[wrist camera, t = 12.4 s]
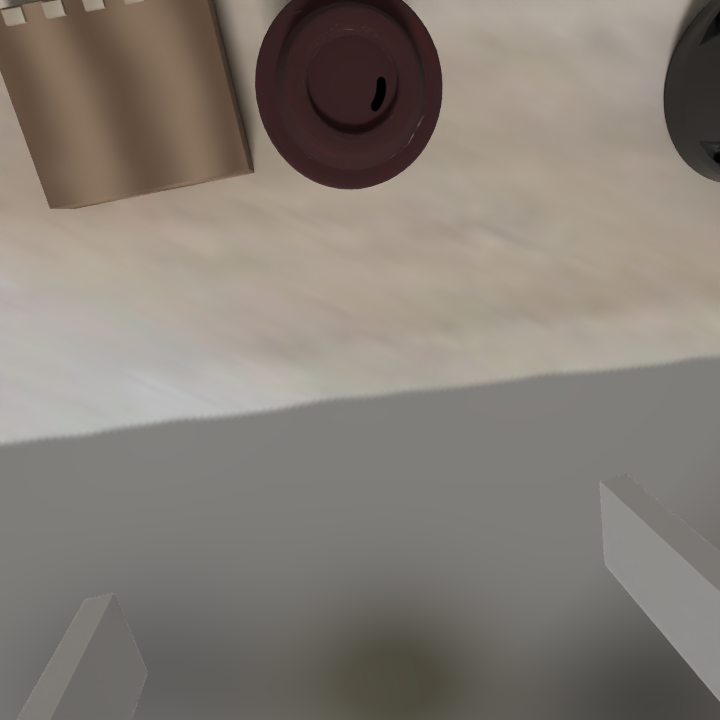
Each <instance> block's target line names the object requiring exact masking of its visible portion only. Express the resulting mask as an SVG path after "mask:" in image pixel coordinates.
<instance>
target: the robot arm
mask: <svg viewBox="0 0 720 720" xmlns="http://www.w3.org/2000/svg"><path fill="white" fill-rule="evenodd" d="M665 115H666V121H667V126H668V130H669V133H670V136H671V139H672V141H673V144H674V146H675V148H676V149H677V151H678V153H679V154H680V156H681V157H682V158H683V160H684V161H685V162H686V163H687V164H688V165H689V166H690V167H691V168H692V169H693V170H695V171H696V172H697V173H699V174H701V175H702V176H704V177H706V178H708V179H711V180H714V181H717V182H720V0H712V1H711V2H710V3H709V4H708V5H707V6H706V7H705V8H704V9H703V10H702V11H701V12H700V13H699V14H698V15H697V16H696V18H695V19H694V20H693V21H692V23H691V24H690V26H689V27H688V28H687V30H686V32H685V33H684V35H683V37H682V38H681V40H680V42H679V44H678V46H677V48H676V51H675V53H674V56H673V58H672V61H671V64H670V68H669V72H668V76H667V81H666V88H665ZM599 483H600V499H601V514H602V529H603V530H602V531H603V546H604V563H605V565H606V567H607V568H608V569H609V570H610V571H611V572H612V574H613V575H614V576H615V577H616V578H617V580H618V581H619V582H620V583H621V584H622V586H623V587H624V588H625V589H626V590H627V592H628V593H629V594H630V595H631V596H632V597H633V598H634V600H635V601H636V602H637V603H638V605H639V606H640V607H641V608H642V609H643V610H644V612H645V613H646V614H647V615H648V616H649V618H650V619H651V620H652V621H653V622H654V624H655V625H656V626H657V627H658V628H659V630H660V631H661V632H662V633H663V634H664V636H665V637H666V638H667V639H668V640H669V641H670V643H671V644H672V645H673V646H674V647H675V649H676V650H677V651H678V652H679V653H680V655H681V656H682V657H683V658H684V659H685V661H686V662H687V663H688V664H689V665H690V667H691V668H692V669H693V670H694V671H695V673H696V674H697V675H698V676H699V677H700V678H701V680H702V681H703V682H704V683H705V684H706V686H707V687H708V688H709V689H710V690H711V691H712V693H713V694H714V695H715V696H716V697H717V699H718V700H719V701H720V551H719V550H718V549H716V548H715V547H714V546H713V545H712V544H710V543H709V542H708V541H707V540H705V539H704V538H703V537H702V536H701V535H700V534H698V533H697V532H696V531H695V530H693V529H692V528H691V527H690V526H689V525H687V524H686V523H685V522H684V521H683V520H681V519H680V518H679V517H678V516H677V515H675V514H674V513H673V512H672V511H670V510H669V509H668V508H667V507H666V506H664V505H663V504H662V503H661V502H660V501H658V500H657V499H656V498H655V497H654V496H652V495H651V494H650V493H649V492H648V491H646V490H645V489H644V488H643V487H641V486H640V485H639V484H638V483H637V482H635V481H634V480H633V479H632V478H631V477H629V476H628V475H627V474H625V475H621V476H616V477H612V478H608V479H603V480H600V481H599ZM147 673H148V672H147V670H146V668H145V665H144V663H143V660H142V658H141V655H140V653H139V650H138V648H137V645H136V643H135V641H134V638H133V636H132V633H131V631H130V629H129V626H128V624H127V621H126V619H125V616H124V614H123V612H122V609H121V607H120V604H119V602H118V600H117V597H116V595H115V593H114V592H113V593H109V594H104V595H101V596H96V597H92V598H87V599H85V600H84V602H83V603H82V605H81V607H80V609H79V610H78V612H77V614H76V616H75V617H74V619H73V621H72V623H71V625H70V626H69V628H68V630H67V632H66V633H65V635H64V637H63V639H62V640H61V642H60V644H59V646H58V648H57V649H56V651H55V653H54V655H53V656H52V658H51V660H50V662H49V663H48V665H47V667H46V669H45V670H44V672H43V674H42V675H41V677H40V679H39V681H38V683H37V684H36V686H35V688H34V690H33V691H32V693H31V695H30V697H29V698H28V701H27V702H26V704H25V705H24V707H23V709H22V711H21V712H20V714H19V716H18V718H17V720H132V717H133V714H134V711H135V708H136V705H137V702H138V699H139V697H140V694H141V691H142V688H143V685H144V682H145V679H146V676H147Z"/></svg>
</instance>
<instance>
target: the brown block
mask: <svg viewBox="0 0 720 720" xmlns="http://www.w3.org/2000/svg"><path fill="white" fill-rule="evenodd" d="M0 71H1V73H2V76H3V79H4V82H5V85H6V87H7V90H8V93H9V96H10V98H11V101H12V104H13V107H14V109H15V112H16V115H17V118H18V121H19V123H20V126H21V129H22V132H23V134H24V137H25V140H26V143H27V146H28V148H29V151H30V154H31V157H32V159H33V162H34V165H35V168H36V170H37V173H38V176H39V179H40V182H41V184H42V187H43V190H44V193H45V195H46V198H47V201H48V204H49V207H50V209H76V208H81V207H86V206H91V205H96V204H101V203H106V202H111V201H115V200H120V199H125V198H130V197H135V196H140V195H145V194H150V193H155V192H160V191H165V190H170V189H175V188H180V187H185V186H190V185H195V184H200V183H205V182H210V181H215V180H220V179H225V178H230V177H235V176H240V175H245V174H250V173H254V170H253V166H252V162H251V158H250V154H249V149H248V145H247V141H246V137H245V133H244V129H243V125H242V120H241V116H240V112H239V108H238V104H237V100H236V96H235V91H234V87H233V83H232V79H231V75H230V71H229V67H228V62H227V58H226V54H225V50H224V46H223V42H222V38H221V33H220V29H219V25H218V21H217V17H216V13H215V9H214V5H213V0H45V1H40V2H34V3H29V4H23V5H18V6H12V7H7V8H2V9H0Z"/></svg>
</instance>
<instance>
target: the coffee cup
mask: <svg viewBox="0 0 720 720" xmlns="http://www.w3.org/2000/svg"><path fill="white" fill-rule="evenodd" d="M255 88H256V99H257V104H258V108H259V112H260V116H261V119H262V122H263V125H264V127H265V129H266V131H267V134H268V136H269V138H270V139H271V141H272V143H273V145H274V146H275V147H276V149H277V150H278V152H279V153H280V155H281V156H282V157H283V158H284V159H285V160H286V161H287V162H288V163H289V165H291V166H292V167H293V168H294V169H295V170H297V171H298V172H299V173H301V174H302V175H304V176H305V177H307V178H309V179H310V180H312V181H314V182H317V183H319V184H322V185H325V186H328V187H333V188H338V189H362V188H367V187H371V186H374V185H377V184H380V183H383V182H385V181H387V180H389V179H391V178H393V177H395V176H397V175H398V174H399V173H401V172H402V171H404V170H405V169H406V168H407V167H408V166H410V165H411V164H412V163H413V162H414V161H415V160H416V158H417V157H418V156H419V155H420V154H421V152H422V151H423V149H424V148H425V147H426V145H427V143H428V141H429V140H430V138H431V135H432V133H433V131H434V129H435V126H436V123H437V120H438V117H439V113H440V108H441V102H442V73H441V67H440V62H439V57H438V54H437V50H436V48H435V45H434V43H433V41H432V38H431V36H430V34H429V32H428V30H427V28H426V27H425V26H424V24H423V23H422V21H421V20H420V19H419V17H418V16H417V15H416V13H415V12H414V11H413V10H412V9H411V8H410V7H409V6H408V5H407V4H406V3H405V2H403V1H402V0H292V1H291V2H290V3H288V4H287V5H286V6H285V7H284V8H283V9H282V10H281V11H280V13H279V14H278V15H277V17H276V18H275V19H274V21H273V22H272V24H271V26H270V27H269V29H268V31H267V33H266V35H265V37H264V40H263V42H262V45H261V48H260V51H259V55H258V60H257V66H256V77H255Z"/></svg>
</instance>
